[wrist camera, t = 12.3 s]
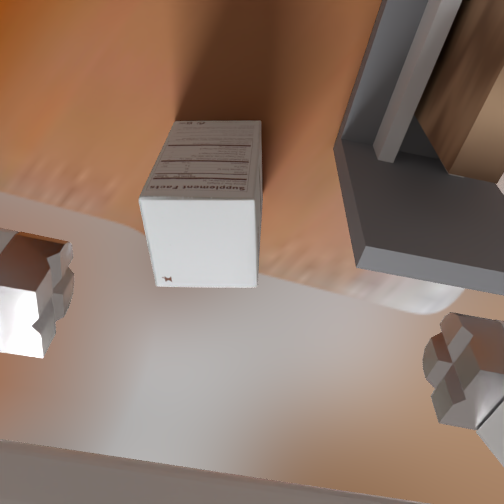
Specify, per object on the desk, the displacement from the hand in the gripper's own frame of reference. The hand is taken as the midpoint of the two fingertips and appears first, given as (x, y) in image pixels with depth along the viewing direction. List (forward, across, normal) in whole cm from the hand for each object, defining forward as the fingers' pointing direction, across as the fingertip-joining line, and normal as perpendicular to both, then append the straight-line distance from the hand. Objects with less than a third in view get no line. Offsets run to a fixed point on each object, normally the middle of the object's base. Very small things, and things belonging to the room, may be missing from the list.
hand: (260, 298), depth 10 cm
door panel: (+28, -13, -2) cm, 31 cm away
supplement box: (+29, +2, +12) cm, 32 cm away
